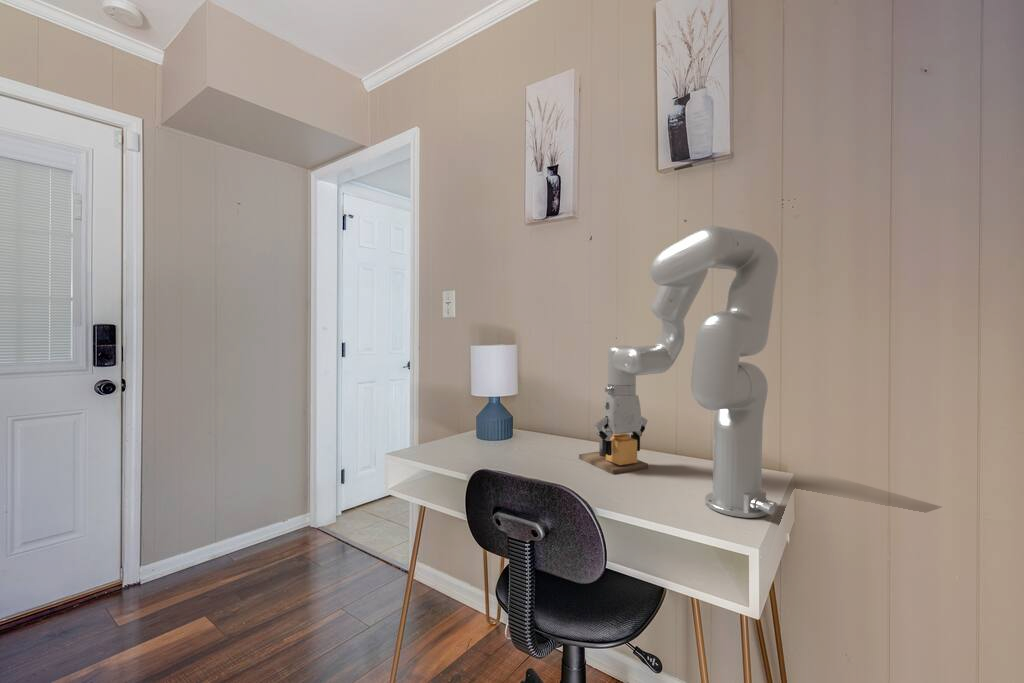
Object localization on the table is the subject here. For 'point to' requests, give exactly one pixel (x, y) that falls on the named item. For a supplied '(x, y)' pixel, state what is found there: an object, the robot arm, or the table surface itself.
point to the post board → (601, 462)
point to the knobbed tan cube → (623, 449)
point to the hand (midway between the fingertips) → (621, 452)
